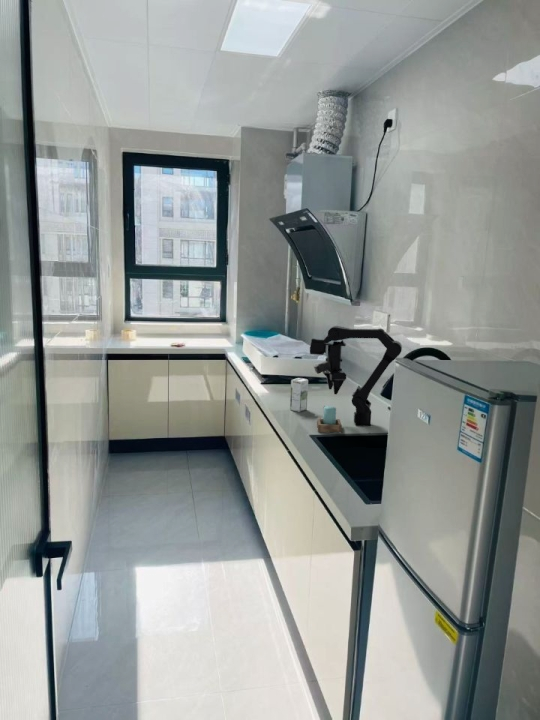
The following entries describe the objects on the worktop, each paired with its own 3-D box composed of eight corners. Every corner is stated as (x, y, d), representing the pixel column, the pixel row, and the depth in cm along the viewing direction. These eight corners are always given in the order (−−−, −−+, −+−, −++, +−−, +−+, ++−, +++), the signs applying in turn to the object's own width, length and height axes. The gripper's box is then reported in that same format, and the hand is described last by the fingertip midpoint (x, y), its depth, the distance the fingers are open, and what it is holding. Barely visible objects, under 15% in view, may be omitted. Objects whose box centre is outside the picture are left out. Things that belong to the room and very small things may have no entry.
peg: (334, 427, 231) (335, 406, 229) (335, 431, 226) (336, 409, 224) (322, 427, 231) (323, 406, 230) (323, 430, 226) (324, 409, 225)
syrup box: (297, 407, 261) (298, 377, 259) (307, 409, 258) (308, 379, 255) (289, 409, 257) (290, 379, 255) (300, 412, 253) (301, 381, 251)
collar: (339, 426, 233) (339, 419, 232) (341, 432, 224) (341, 425, 223) (316, 425, 233) (317, 418, 233) (318, 432, 224) (318, 424, 223)
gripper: (311, 352, 243) (309, 387, 246) (320, 359, 225) (319, 397, 228) (335, 352, 245) (334, 386, 248) (347, 359, 227) (345, 396, 229)
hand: (332, 391), depth 238 cm, fingers open, 9 cm apart
